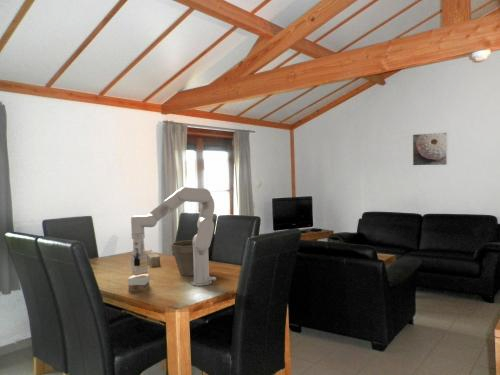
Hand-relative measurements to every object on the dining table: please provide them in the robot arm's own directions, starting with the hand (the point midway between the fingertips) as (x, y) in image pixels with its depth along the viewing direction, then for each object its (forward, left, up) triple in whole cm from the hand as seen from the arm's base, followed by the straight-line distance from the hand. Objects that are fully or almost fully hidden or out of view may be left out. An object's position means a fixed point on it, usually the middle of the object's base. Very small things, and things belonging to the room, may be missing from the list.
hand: (139, 264), depth 241 cm
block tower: (+8, -76, -16) cm, 78 cm away
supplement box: (0, 0, -6) cm, 6 cm away
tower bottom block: (0, 0, -15) cm, 15 cm away
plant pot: (-27, -36, -15) cm, 47 cm away
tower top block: (0, 0, -11) cm, 11 cm away
